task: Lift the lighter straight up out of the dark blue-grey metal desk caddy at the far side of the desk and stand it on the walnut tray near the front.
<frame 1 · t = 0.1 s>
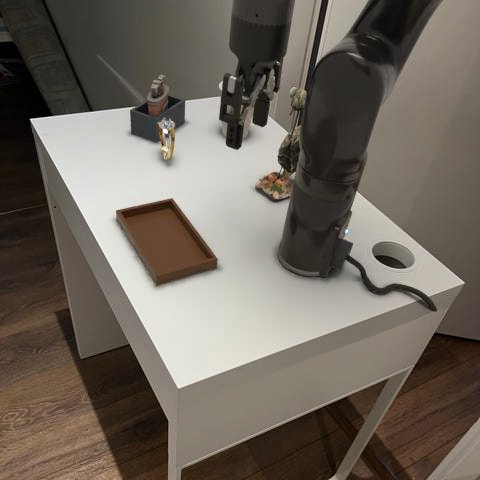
hand: (246, 135, 73), 17 cm above the table, tool pointing down, fingers open, 8 cm apart
tray: (165, 243, 81), on the table
caddy: (158, 127, 106), on the table
lighter: (158, 128, 107), resting in caddy
ring: (166, 159, 99), on the table
plant with pod: (281, 187, 96), on the table
dixie cup: (234, 133, 109), on the table
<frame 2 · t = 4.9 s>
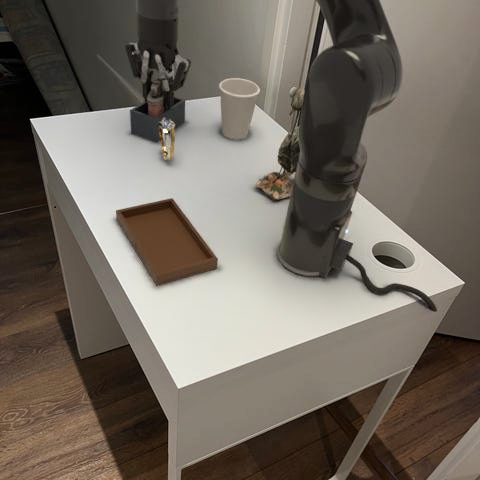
hand: (158, 103, 103), 5 cm above the table, tool pointing down, fingers closed on lighter, 4 cm apart
lighter: (158, 128, 107), resting in caddy, touching gripper
everything else where it was.
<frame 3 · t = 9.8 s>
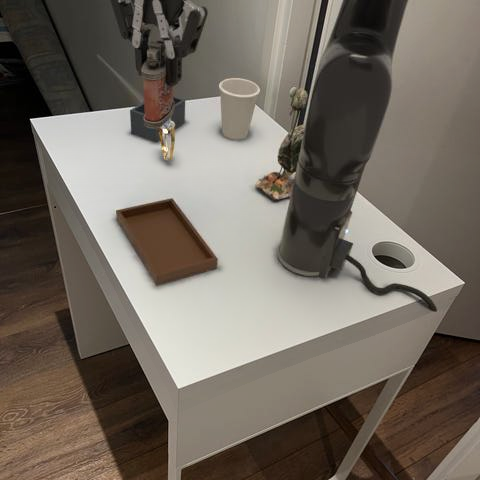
hand: (158, 79, 69), 23 cm above the table, tool pointing down, fingers closed on lighter, 4 cm apart
lighter: (159, 117, 73), point 17 cm above the table, touching gripper
everything else where it was.
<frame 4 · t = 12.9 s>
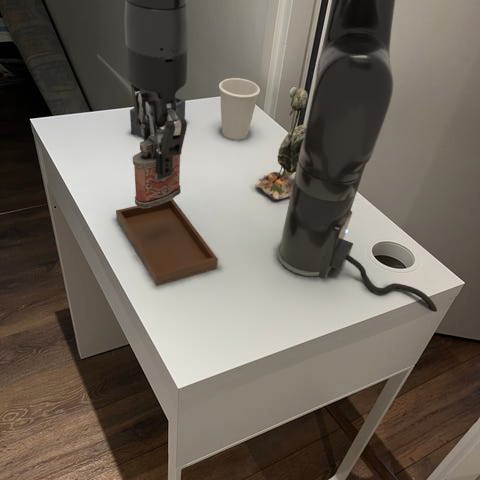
hand: (158, 166, 73), 13 cm above the table, tool pointing down, fingers closed on lighter, 4 cm apart
lighter: (158, 198, 77), point 7 cm above the table, touching gripper
everything else where it was.
when the fingers open (6 cm above the table, at t = 14.9 s): lighter stays where it is, resting on tray.
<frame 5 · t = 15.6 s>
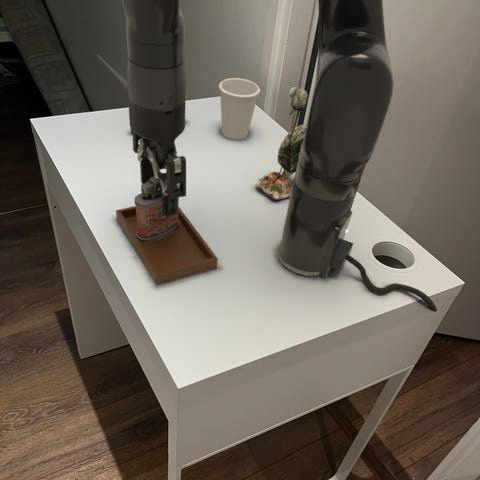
hand: (158, 198, 78), 7 cm above the table, tool pointing down, fingers open, 8 cm apart
lighter: (158, 232, 82), resting on tray
everything else where it was.
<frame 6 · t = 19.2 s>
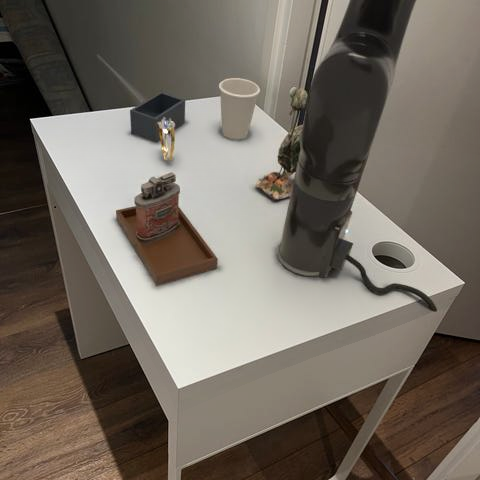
nothing on the table moved.
at the end: lighter inside the target area in the tray (2.6 cm from its centre), point 0.3 cm above the tray's base; lighter moved 36.1 cm from its start; the gripper is holding nothing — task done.
